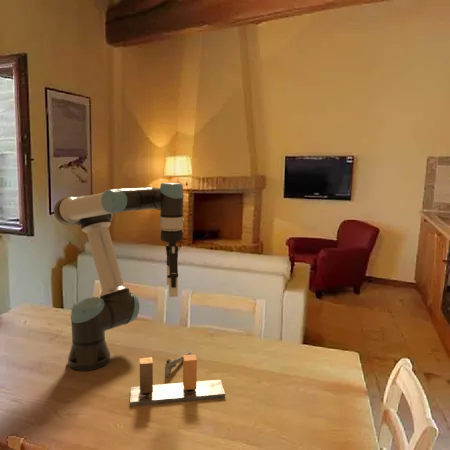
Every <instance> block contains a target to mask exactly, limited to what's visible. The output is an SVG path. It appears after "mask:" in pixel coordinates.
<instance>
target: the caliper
mask: <svg viewBox="0 0 450 450" xmlns="http://www.w3.org/2000/svg"><path fill="white" fill-rule="evenodd" d="M183 355H192V352H190V351H187V352H185V353H184V354H181V355H180V356H178V357H176V358H173V359H171V358H170V359H169V358H168V359H166V362H165V364H164V377H165V378H169V376H171V374H172V369H173V368H175V367H176V366H177V364H179V363H180V362H183Z"/></svg>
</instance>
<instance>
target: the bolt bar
mask: <svg viewBox="0 0 450 450" xmlns="http://www.w3.org/2000/svg"><path fill="white" fill-rule="evenodd" d="M153 364H154V363H153V357H152V356H151V357H139V386H131V387H130V398H129V401H130V402H129V406H130V407H131V408H132V407H142V406H152V405H153V406H154V405H163V404H164V405H165V404H172V403H184V402H195V401H196V402H197V401H206V400H207V401H208V400H216V399H217V400H218V399H225V398H226V392H225V389H224V386H223V384H222V380H221V379H213V380H212V379H211V380H198V381H197V387H196V389H189V390H184V386H183V382H175V383H163V384H160V383H159V384H154V377H153V375H154V373H153V372H154V371H153V370H154V368H153V367H154V365H153Z"/></svg>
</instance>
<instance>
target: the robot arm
mask: <svg viewBox="0 0 450 450" xmlns="http://www.w3.org/2000/svg"><path fill="white" fill-rule="evenodd" d="M184 197H185V195H184V186H183V184H182V183H179V182H162V183H160V187H155V186H154V187H153V186H140V187H132V188H111V189H106V190H105V191H104V192H100V193H95V194H93V193H92V194H87V195H71V196H65V197H63V198H60V199H58V200H57V202H56V203H55V204H54V207H53V215H54V217H55V219H56V220H57V221H58V222H59V223H61V224H63V225H65V226H80V228H81V231H82V232H84V233H85V234H86V235H87V239H88V242H89V246H90V250H91V254H92V257H93V262H94V265H95V270H96V273H97V276H98V280H99V284H100V288H101V292H100V294H99V297H97V296H93V297H87V298H83V299H80V300H79V301H77V302H75V303H74V304H73V305H72V308H71V311H70V313H71V314H70V320H71V339H72V342H71V343H72V344H71V348H70V351H69V354H68V357H67V365H68V368H71V369H72V370H74V371H80V372H86V371H87V372H88V371H95V370H98V369H100V368H103V367H104V366H106V365H108V364H109V363H110V361H111V351H110V350H109V347H108V345H107V342H106V337H105V336H106V335H105V334H106V333H105V332H106V331H109V330H111V329H114V328H118V327H120V326H123V325H124V326H125V325H127V324H129V323H132V322H133V321H135V320H136V319H137V317H138V315H139V313H140V301H139V298H138V296H137V295H136V294H135V293H134V292H131V291H130V287H128V286H127V285H125V284H124V281H123V277H122V275H121V270H120V267H119V263H118V260H117V255H116V252H115V248H114V244H113V241H112V237H111V234H110V231H109V227H110V226H111V225H112V223H111V222H112V220H113V218H114V214H119V213H124V212H125V213H126V212H136V211H143V210H144V211H145V210H159V211H160V218H159V219H160V240H161V241H162V242H164V243H166V245H165V250H166V251H165V253H166V254H165V255H166V261H165V262H166V285H167V286H168V297H169V298H172V297H173V298H176V297H177V298H178V293H179V292H178V291H179V290H178V287H179V285H178V278H179V269H178V259H179V255H178V254H179V246H178V244H176V243H177V242H178V243H180V242H183V240H184V230H183V227H184V223H185V222H186V219H184Z"/></svg>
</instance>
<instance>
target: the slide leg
mask: <svg viewBox="0 0 450 450" xmlns="http://www.w3.org/2000/svg"><path fill="white" fill-rule="evenodd" d="M182 355H183V354H182ZM197 361H198V359H197V356H196V354H190V355H183V360H182V383H183V386H184V390H189V389H196V387H197V380H198V379H197V377H198V376H197V372H198V371H197V367H198V365H197V364H198V363H197Z"/></svg>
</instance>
